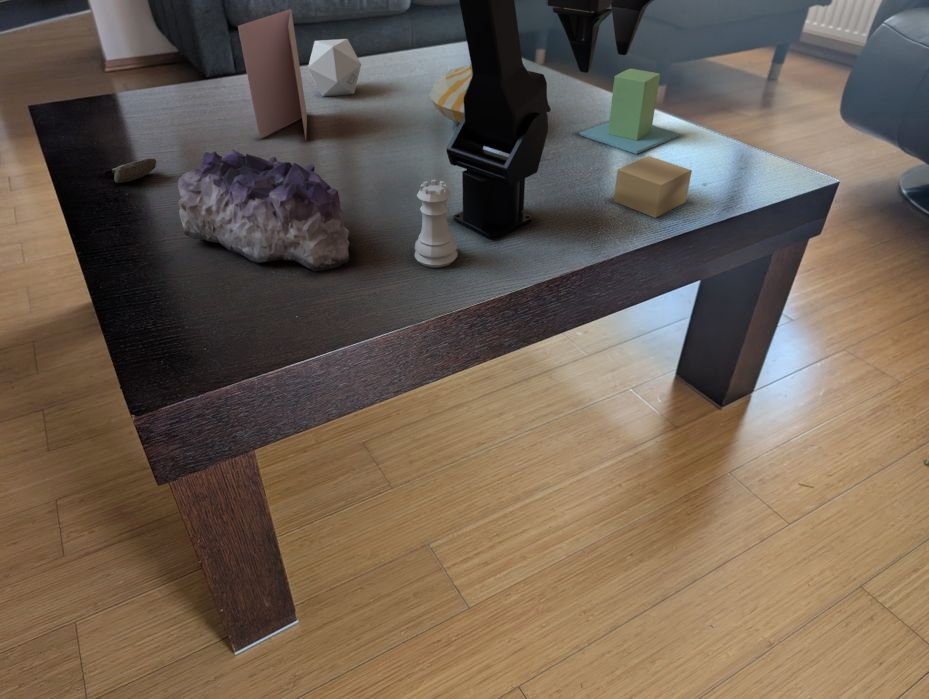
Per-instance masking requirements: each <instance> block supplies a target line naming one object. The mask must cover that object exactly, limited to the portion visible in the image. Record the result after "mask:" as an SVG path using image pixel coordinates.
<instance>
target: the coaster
mask: <svg viewBox="0 0 929 699" xmlns="http://www.w3.org/2000/svg"><path fill="white" fill-rule="evenodd" d="M608 127H609V121H606V122H605V123H601V124H599V125H596V126H593V127H591V128H587V129H585V130H582V131H580V132H579V136H581V137H584V138H587V139H590V140H593V141H596V142H598V143H602V144H605V145H608V146H611V147H614V148H616V149H620V150H623V151H625V152H629V153H632V154H635V155H638V154H641V153H643V152H645V151H648V150H649V149H651V148H655V147H656V146H660V145H661V144H664V143H666V142H668V141H671V140H673V139H676V138H677V137H680V132H676V131H673V130H670V129H666V128H663V127H660V126H656V125H653V124H652V130H651V132H649V133H648V134H646V135H645V136H643V137H642V138H640V139H639V140H637V141H636V140H632V139H628V138H623V137H619V136H615V135H611V134H608Z"/></svg>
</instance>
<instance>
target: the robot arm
mask: <svg viewBox="0 0 929 699" xmlns="http://www.w3.org/2000/svg"><path fill="white" fill-rule="evenodd" d="M458 1H459V6H460V12H461V17H462V23H463V27H464V33H465V38H466V44H467V48H468V54H469V59H470V64H471V65H472V73H473V75H472V77H471V80H470V82H469V85H468V87H467V90H466V92H465V95H464V98H463V100H464V114H465V115H464V117H463V119H462V121H461V122H460V123H459V125H458V126H457V128H456V130H455V131H454V134H453V136H452V137H451V139H450V141H449V143H448V145H447V147H446V150H445V151H446V155H447V158H448V161H449V164H450V165H451V166H453V167H456V166H457V167H459V168H462V169H465V170H463V171H462V172H461V174H462V175H461V176H462V178H461V182H462V211H460V212H458V213H456V214H454V215H453V216H452V218H453V221H454V222H456V223H458V224H460V225H462V226H464V227H466V228H468V229H470V230H472V231H474V232H476V233H478V234H479V235H481V236H483V237H486V238H488V239H492V240H493V239H496V238H499V237H501V236H503V235H505V234H507V233H509V232H511V231H513V230H516V229H518V228H520V227H522V226H525V225H527V224H529V223H531V222H532V220H533V218H532V217H533V216H532V215H529V214H528V213H525V212H523V211H524V207H525V191H526V190H525V189H526V187H525V186H526V179H527V178H529V177H531V176H533V175H535V174H537V172H539V167H540V163H541V159H542V156H543V152H544V148H545V144H546V140H547V137H548V133H549V116H548V113H551V110H552V109H551V107H550V104H549V100H548V82H547V80H546V77H545V75H544V74H543V73H541V72H537V71H531V70H528V68H527V67H526V66H525V65H524V62H523V56H522V48H521V41H520V32H519V25H518V18H517V9H516V2H515V0H458ZM654 1H655V0H545V5H546V6H548V7H552V12H553V13H554V14H556V15H557V17H558V19H559V21H560V24H561V26H562V28H563V30H564V32H565V34H566V38H567V40H568V43H569V46H570V48H571V51H572V53H573V57H574V59H575V62H576V64H577V68H578V70H579V72H580V73H585V74H588V73H590V72H591V68H592V63H593V60H594V55H595V50H596V47H597V46H596V45H597V40H598V35H599V30H600V26H601V24H602V23H603V22H604V21H605V20H606V19H607V18H608V17H609V16H610V15H611V14H612V22H613V31H614V32H613V33H614V40H615V45H616V51H617V55H620V56H626V55H628V54H629V51H630V48H631V46H632V43H633V41H634V39H635V35H636V33H637V31H638V28H639V26H640V23H641V21H642V19H643V16H644V15H645V12H646V10H647V7H648V6H649V5H651V4H652V3H653V2H654ZM610 7H611V8H610ZM484 147H485V148H489V149H492V150H496V151H498V152H501V153H505V154H508V156H506V155H503V154H500V153H496V152H494V151H492V150H491V151H490V150H488V149H484Z"/></svg>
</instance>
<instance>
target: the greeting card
mask: <svg viewBox="0 0 929 699" xmlns="http://www.w3.org/2000/svg"><path fill="white" fill-rule="evenodd" d="M237 29H238V35H239V40H240V44H241V50H242V55H243V62H244V65H245V70H246V75H247V81H248V86H249V90H250V96H251V101H252V102H251V103H252V106H253V111H254V112H253V113H254V117H255V122H256V127H257V133H258V137H259V140H262V139H263V138H265V137H267V136H269V135H271V134H273V133H274V132H277V131H278V130H281V129H282V128H284V127H286V126H288V125H291V124H292V123H294V122H296V121H298V120H300V119H302V126H303V131H304V132H303V133H304V139H305V140H307V127H308V126H307V125H308V122H307V121H308V113H307V106H306V100H305V94H304V93H305V92H304V86H303V85H304V84H303V79H302V73H301V66H300V65H301V64H300V59H299V52H298V46H297V39H296V33H295V24H294V19H293V12H292V8H289V9H287V10H283V11H280V12H277V13H274V14H270V15H268V16H265V17H262V18H258V19H255V20H252V21H249V22H246V23H243V24H240V25H237Z"/></svg>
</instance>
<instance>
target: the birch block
mask: <svg viewBox="0 0 929 699" xmlns="http://www.w3.org/2000/svg"><path fill="white" fill-rule="evenodd" d="M692 172H693V171H692V169H691V168H690V169H689V168H687V167H683V166H681V165H678V164H674V163H671V162H669V161H665V160H663V159H660V158H657V157H653V156H651V155H646V156H644V157H643V158H640V159H637V160H635V161H634V162H631V163H629V164H627V165H625V166H622V167H619V168H617V171H616V178H615V186H614V193H613V200H612V201H613V202H615V203H617V204H620V205H622V206H624V207H626V208H629V209H632V210H634V211H636V212H640V213H642V214H645V215H647V216H650V217H652V218H655V219H656V218H658V217H660V216H662V215H664V214H666V213H668V212H670V211H672V210H673V209H675V208H677V207H679V206H681V205H683V204H686V202H687V197H688V191H689V186H690V183H691V177H692Z"/></svg>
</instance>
